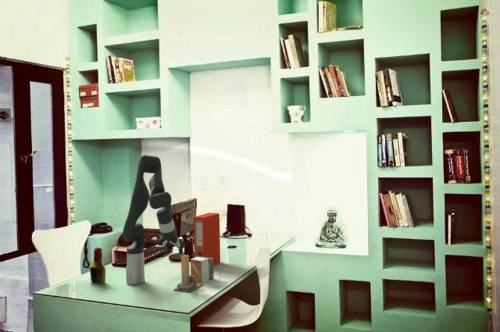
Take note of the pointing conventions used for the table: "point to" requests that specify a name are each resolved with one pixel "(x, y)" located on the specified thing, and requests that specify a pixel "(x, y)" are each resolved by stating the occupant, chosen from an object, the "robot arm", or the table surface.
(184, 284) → the wooden post on base
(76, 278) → the table surface
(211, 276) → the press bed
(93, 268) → the bottle
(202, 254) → the file binder
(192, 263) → the small box
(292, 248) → the table surface
